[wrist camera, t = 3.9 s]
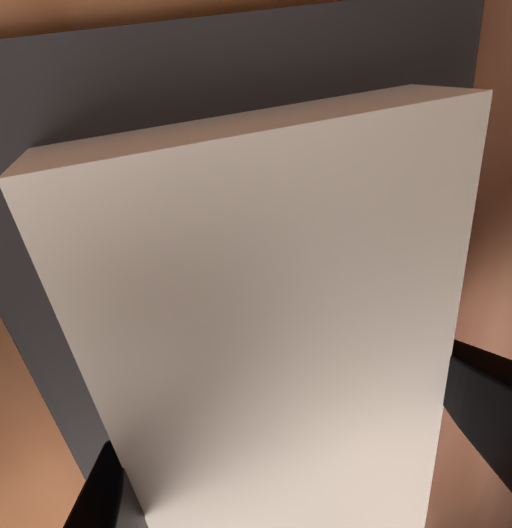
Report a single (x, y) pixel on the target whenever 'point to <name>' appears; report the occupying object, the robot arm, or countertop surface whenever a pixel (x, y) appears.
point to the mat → (193, 117)
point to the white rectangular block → (266, 299)
